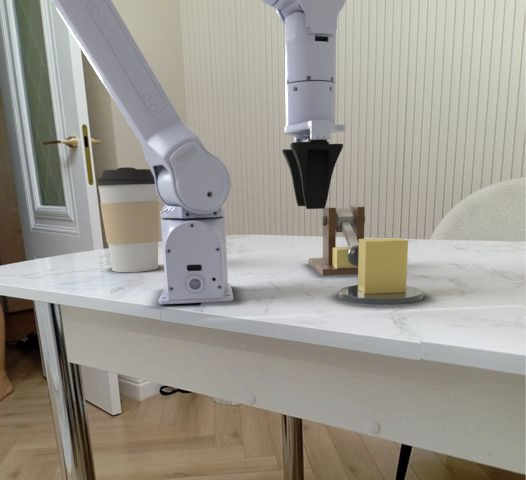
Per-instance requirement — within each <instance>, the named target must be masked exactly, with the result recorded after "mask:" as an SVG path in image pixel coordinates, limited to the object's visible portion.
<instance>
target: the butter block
mask: <svg viewBox="0 0 526 480" xmlns="http://www.w3.org/2000/svg"><path fill="white" fill-rule="evenodd" d="M349 250H350V249H349V246H336V247H333V256H332V265H333V266H334V267H336V268H358V267H355V266H353V265H351V264H350V263H349V261H348V258H347V254H348V251H349Z"/></svg>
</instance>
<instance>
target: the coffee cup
mask: <svg viewBox="0 0 526 480" xmlns="http://www.w3.org/2000/svg"><path fill="white" fill-rule="evenodd" d="M96 181H97V183H96V186H98V192H99V197H100V211H101V216H102V222H103V228H104V233H105V241H106V243H107V245H108V246H107V247H108V252H109V259H110V264H111V269H112V271H113V272H117V273H139V272H140V273H141V272H149V271H154V270H157V269H159V242H160V201H159V196H158V194H157V191H156V188H155V179H154V175H153V172H152V170H151V168H135V167H133V166H132V167H131V166H130V167H129V166H127V167H118V168H116V169H103V170H102V173H101V176H100V177H97V178H96Z"/></svg>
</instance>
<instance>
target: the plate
mask: <svg viewBox="0 0 526 480" xmlns="http://www.w3.org/2000/svg"><path fill="white" fill-rule="evenodd" d="M338 298H339V299H340V300H342V301H345V302H349V303H354V304H359V305H372V306H373V305H374V306H377V305H378V306H392V305H408V304H412V303H416V302H419V301H422V300H423V299H424V290H423V289H421V288H418V287H416V286H410V285H406V292H403V293H378V294H364V293H363V292H361V291H360V290H358V284H355V285H349V286H345V287H342V288H340V289H339V290H338Z"/></svg>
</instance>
